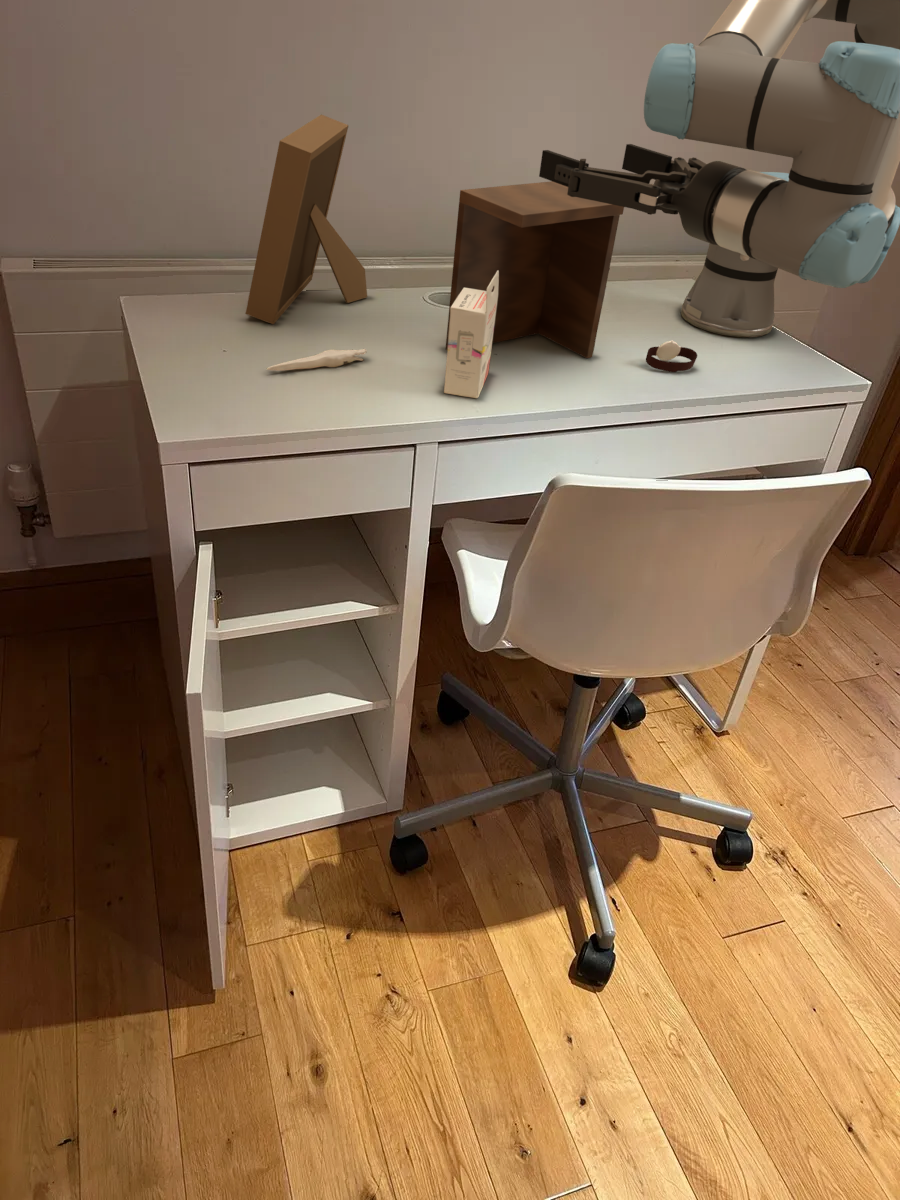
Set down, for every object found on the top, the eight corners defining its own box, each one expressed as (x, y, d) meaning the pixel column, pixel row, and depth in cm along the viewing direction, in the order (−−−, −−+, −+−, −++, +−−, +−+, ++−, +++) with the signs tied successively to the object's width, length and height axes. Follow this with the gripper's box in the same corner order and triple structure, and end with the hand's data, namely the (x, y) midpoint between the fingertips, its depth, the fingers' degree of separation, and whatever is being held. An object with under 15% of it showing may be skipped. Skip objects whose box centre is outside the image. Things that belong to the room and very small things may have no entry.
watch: (687, 361, 140) (693, 338, 138) (699, 373, 136) (705, 350, 134) (639, 360, 139) (645, 336, 136) (650, 372, 135) (655, 349, 133)
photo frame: (245, 320, 137) (238, 135, 122) (287, 276, 154) (284, 109, 139) (343, 334, 136) (347, 149, 121) (373, 288, 153) (381, 122, 138)
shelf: (538, 329, 145) (561, 180, 132) (594, 358, 137) (625, 203, 124) (445, 349, 135) (460, 189, 122) (500, 381, 127) (522, 215, 114)
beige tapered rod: (361, 356, 130) (361, 343, 129) (370, 363, 128) (371, 350, 127) (262, 371, 123) (261, 357, 122) (270, 379, 121) (270, 365, 120)
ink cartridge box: (454, 369, 129) (465, 263, 120) (488, 375, 129) (502, 268, 120) (441, 393, 122) (451, 282, 114) (478, 399, 122) (491, 289, 113)
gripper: (642, 260, 89) (500, 203, 102) (792, 234, 103) (650, 186, 115) (660, 177, 85) (509, 128, 97) (814, 161, 98) (664, 119, 111)
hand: (585, 159), depth 106 cm, fingers open, 13 cm apart
